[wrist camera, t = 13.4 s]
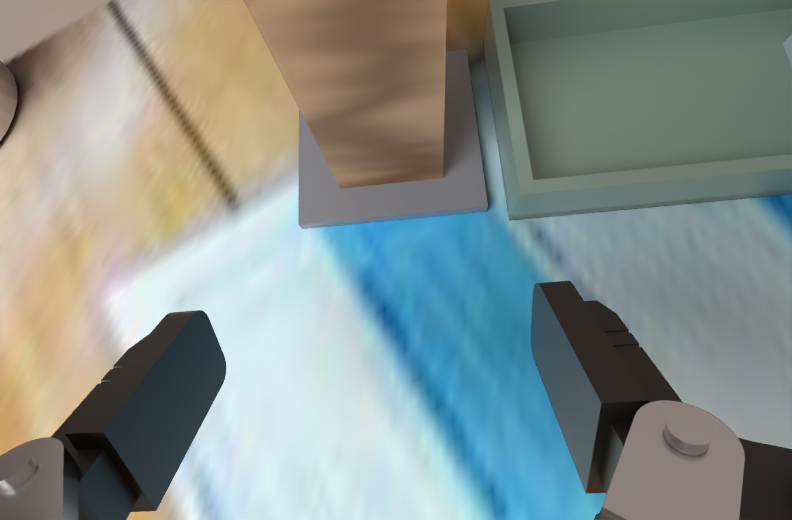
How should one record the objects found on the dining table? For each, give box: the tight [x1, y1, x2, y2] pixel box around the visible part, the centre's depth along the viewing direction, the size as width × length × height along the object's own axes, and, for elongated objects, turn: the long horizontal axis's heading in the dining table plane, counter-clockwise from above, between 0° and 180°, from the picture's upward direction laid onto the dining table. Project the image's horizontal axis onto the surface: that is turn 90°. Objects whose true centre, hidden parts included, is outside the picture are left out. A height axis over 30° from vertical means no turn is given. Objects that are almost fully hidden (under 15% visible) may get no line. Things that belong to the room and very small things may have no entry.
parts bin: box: [483, 0, 792, 220], centre depth 19 cm, size 21×10×3 cm, turn 94°
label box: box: [244, 0, 447, 189], centre depth 15 cm, size 5×6×11 cm
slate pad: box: [299, 49, 488, 229], centre depth 21 cm, size 9×9×1 cm
